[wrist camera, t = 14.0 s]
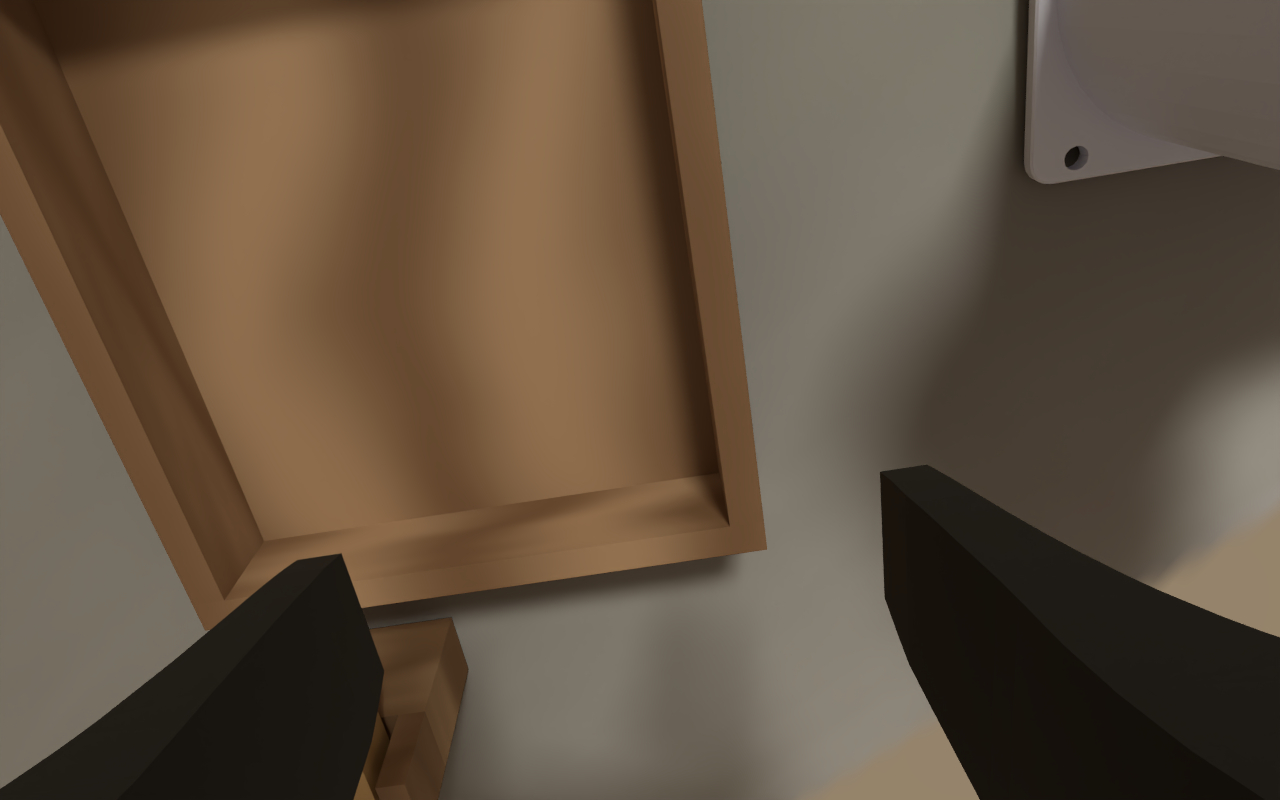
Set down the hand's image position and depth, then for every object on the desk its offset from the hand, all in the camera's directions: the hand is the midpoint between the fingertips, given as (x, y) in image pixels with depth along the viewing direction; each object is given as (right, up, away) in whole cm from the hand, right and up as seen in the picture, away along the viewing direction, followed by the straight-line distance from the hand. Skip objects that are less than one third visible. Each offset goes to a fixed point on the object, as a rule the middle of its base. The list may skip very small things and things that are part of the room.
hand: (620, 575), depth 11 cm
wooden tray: (-5, +4, +10) cm, 11 cm away
